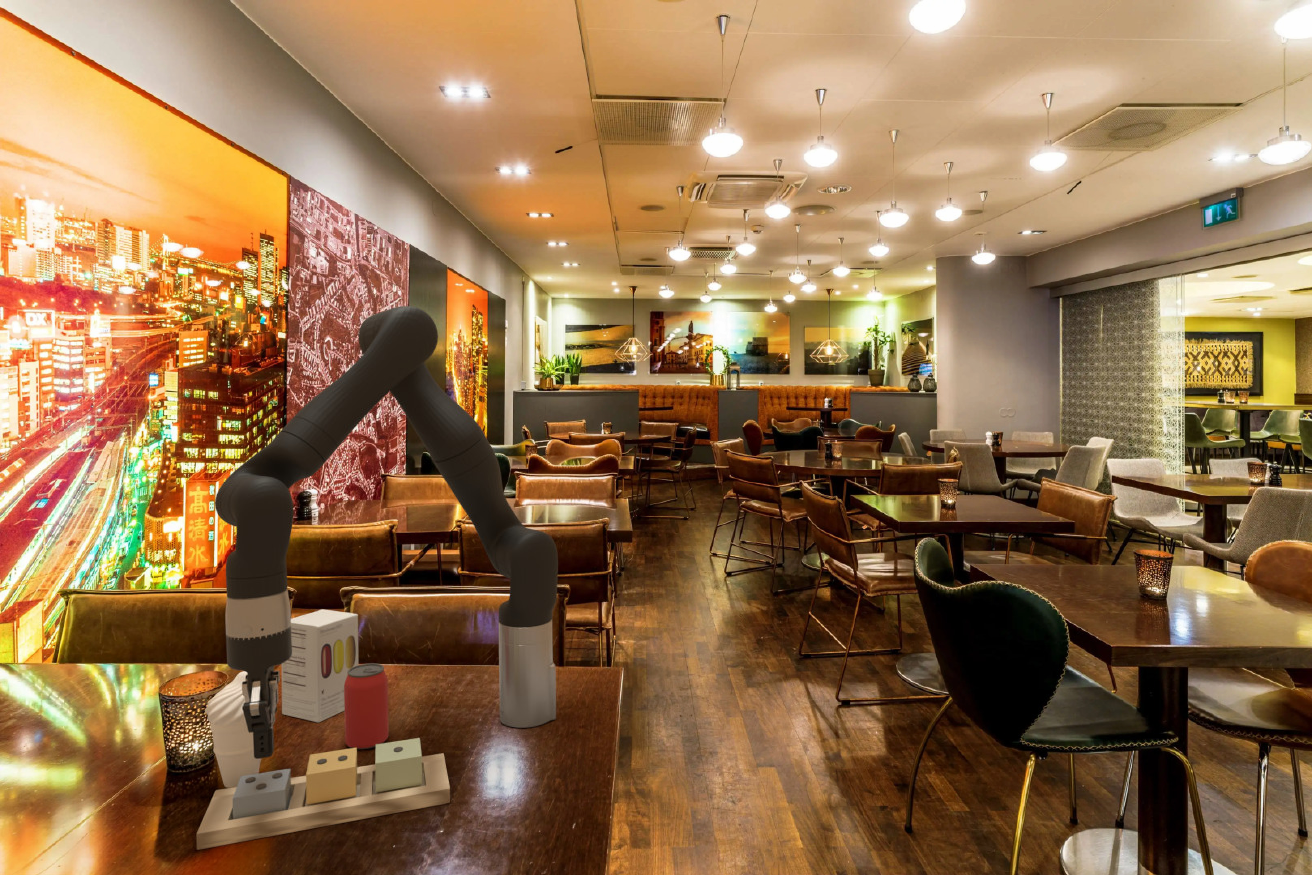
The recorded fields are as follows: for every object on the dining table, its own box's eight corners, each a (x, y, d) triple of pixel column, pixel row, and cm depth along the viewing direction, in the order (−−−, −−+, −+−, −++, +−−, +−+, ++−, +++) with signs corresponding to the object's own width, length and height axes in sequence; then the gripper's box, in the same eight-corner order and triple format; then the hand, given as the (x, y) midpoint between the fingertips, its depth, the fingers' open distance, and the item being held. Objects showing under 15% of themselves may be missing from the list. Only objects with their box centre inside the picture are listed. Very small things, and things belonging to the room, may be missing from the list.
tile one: (420, 764, 106) (419, 736, 106) (422, 784, 101) (421, 754, 101) (376, 771, 104) (375, 743, 104) (375, 792, 99) (375, 761, 98)
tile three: (291, 796, 100) (290, 766, 100) (285, 819, 95) (285, 787, 95) (241, 805, 98) (241, 774, 98) (233, 828, 93) (232, 796, 93)
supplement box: (318, 723, 125) (316, 627, 125) (280, 715, 129) (278, 621, 128) (361, 703, 134) (359, 612, 133) (324, 695, 138) (322, 607, 137)
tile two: (357, 775, 103) (356, 746, 103) (355, 795, 98) (355, 765, 98) (310, 782, 101) (310, 753, 101) (306, 804, 96) (305, 773, 96)
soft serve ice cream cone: (226, 802, 100) (223, 687, 99) (195, 785, 104) (192, 676, 104) (284, 776, 107) (282, 669, 107) (253, 762, 112) (251, 659, 111)
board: (443, 766, 110) (443, 753, 110) (450, 802, 100) (449, 788, 100) (216, 804, 99) (215, 790, 99) (196, 849, 89) (196, 833, 89)
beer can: (373, 752, 114) (372, 677, 114) (336, 749, 116) (334, 674, 115) (396, 734, 121) (395, 663, 120) (361, 731, 122) (359, 660, 122)
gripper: (284, 637, 91) (290, 773, 92) (296, 610, 103) (300, 729, 104) (215, 645, 88) (221, 785, 89) (235, 616, 100) (241, 739, 101)
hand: (264, 755), depth 96 cm, fingers closed
